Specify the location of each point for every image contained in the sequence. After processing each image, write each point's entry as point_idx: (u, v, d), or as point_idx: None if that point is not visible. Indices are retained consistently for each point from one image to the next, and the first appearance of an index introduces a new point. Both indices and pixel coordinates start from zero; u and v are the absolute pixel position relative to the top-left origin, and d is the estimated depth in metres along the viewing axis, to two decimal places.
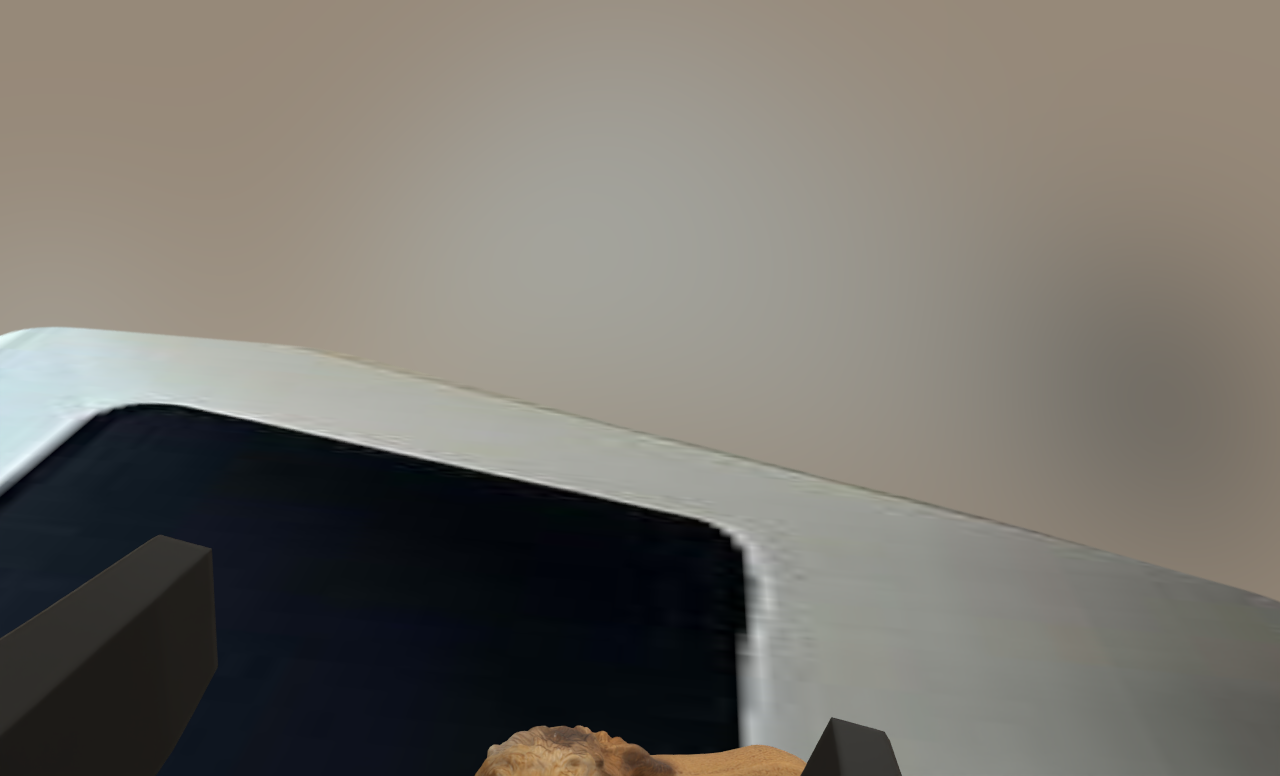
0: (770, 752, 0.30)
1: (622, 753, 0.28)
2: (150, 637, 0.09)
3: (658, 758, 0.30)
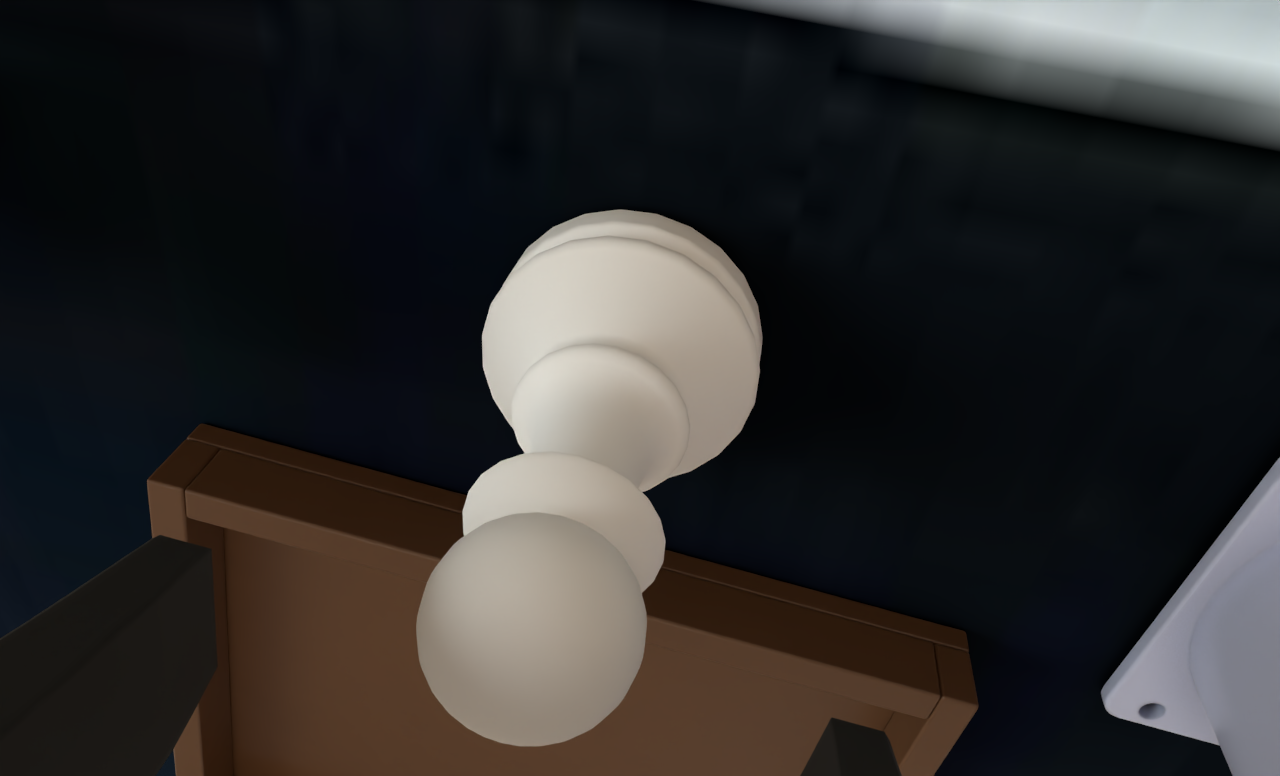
0: None
1: None
2: (150, 637, 0.09)
3: None
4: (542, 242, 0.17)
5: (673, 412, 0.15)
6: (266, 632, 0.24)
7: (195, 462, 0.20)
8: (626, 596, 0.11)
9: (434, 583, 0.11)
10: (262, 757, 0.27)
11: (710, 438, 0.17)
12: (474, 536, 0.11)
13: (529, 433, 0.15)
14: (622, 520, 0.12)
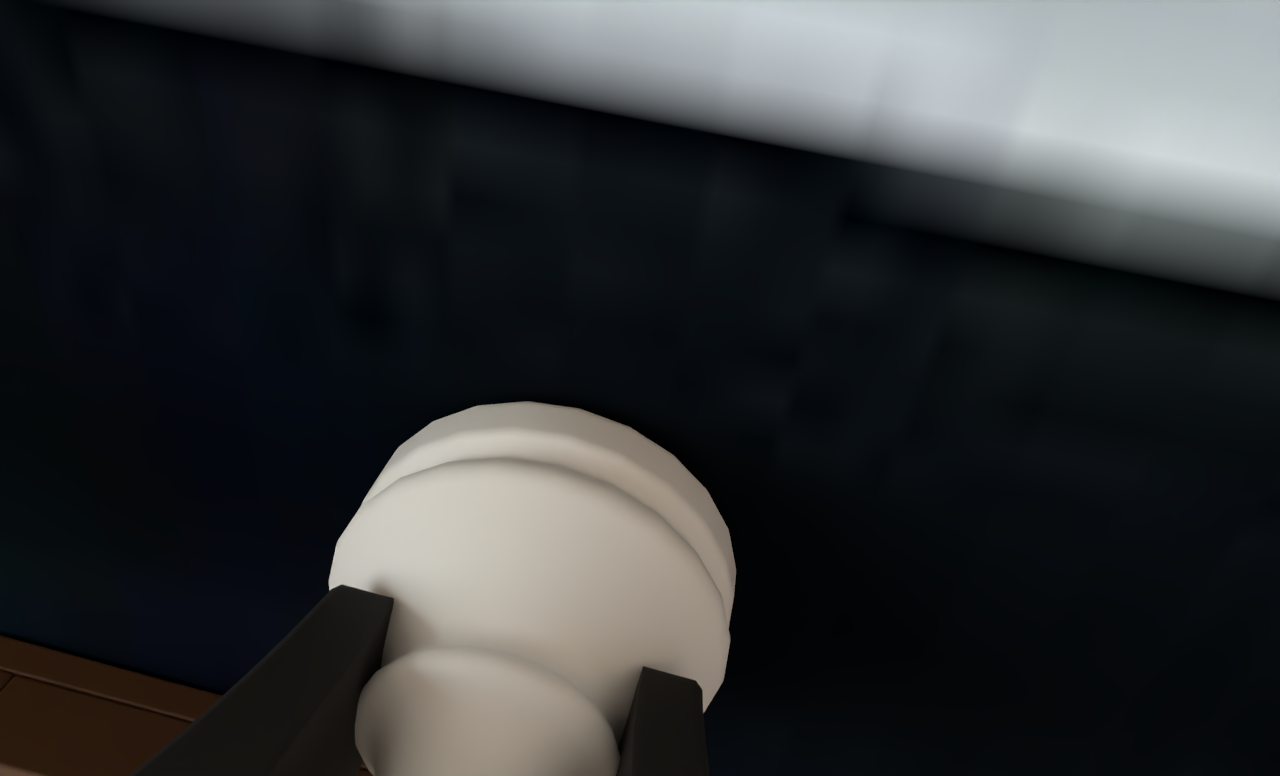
0: None
1: None
2: (349, 691, 0.09)
3: None
4: (412, 451, 0.11)
5: (592, 750, 0.10)
6: None
7: None
8: None
9: None
10: None
11: None
12: None
13: None
14: None
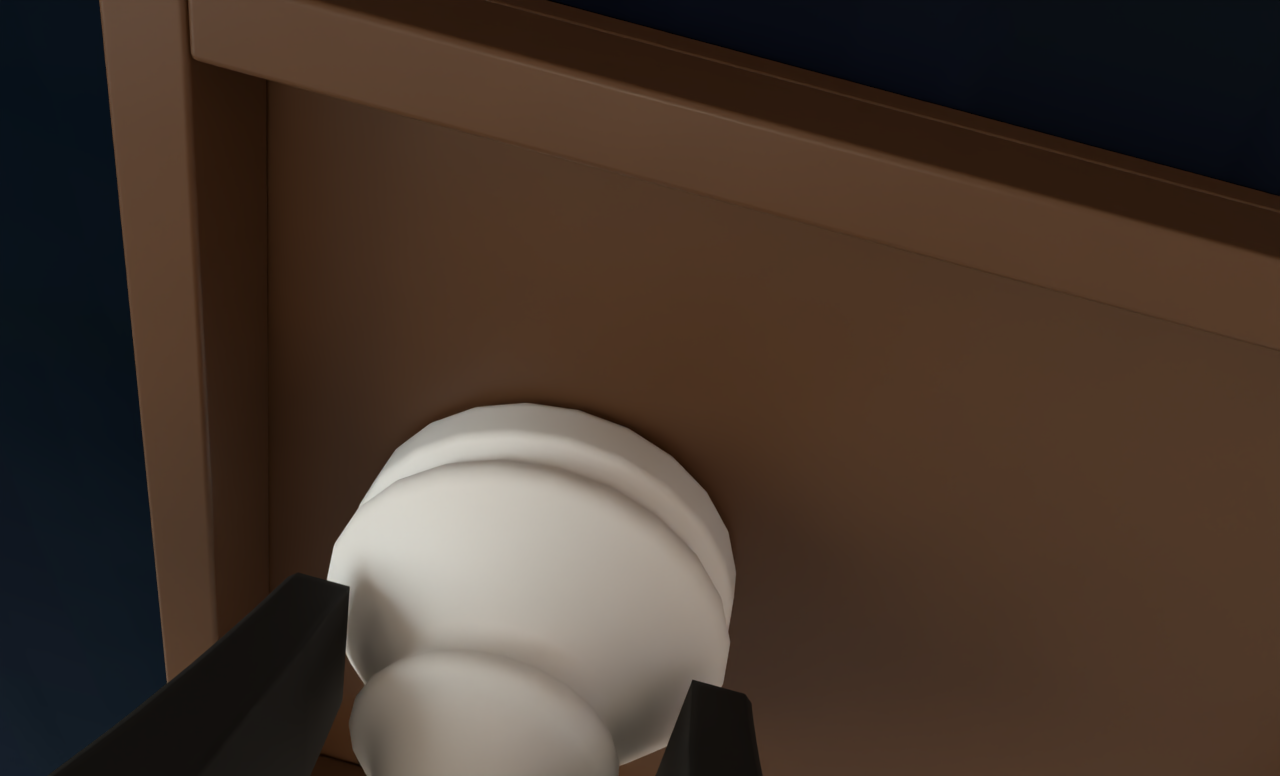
0: None
1: None
2: (301, 678, 0.09)
3: None
4: (410, 453, 0.11)
5: (590, 755, 0.10)
6: (344, 428, 0.12)
7: None
8: None
9: None
10: None
11: (657, 739, 0.11)
12: None
13: None
14: None
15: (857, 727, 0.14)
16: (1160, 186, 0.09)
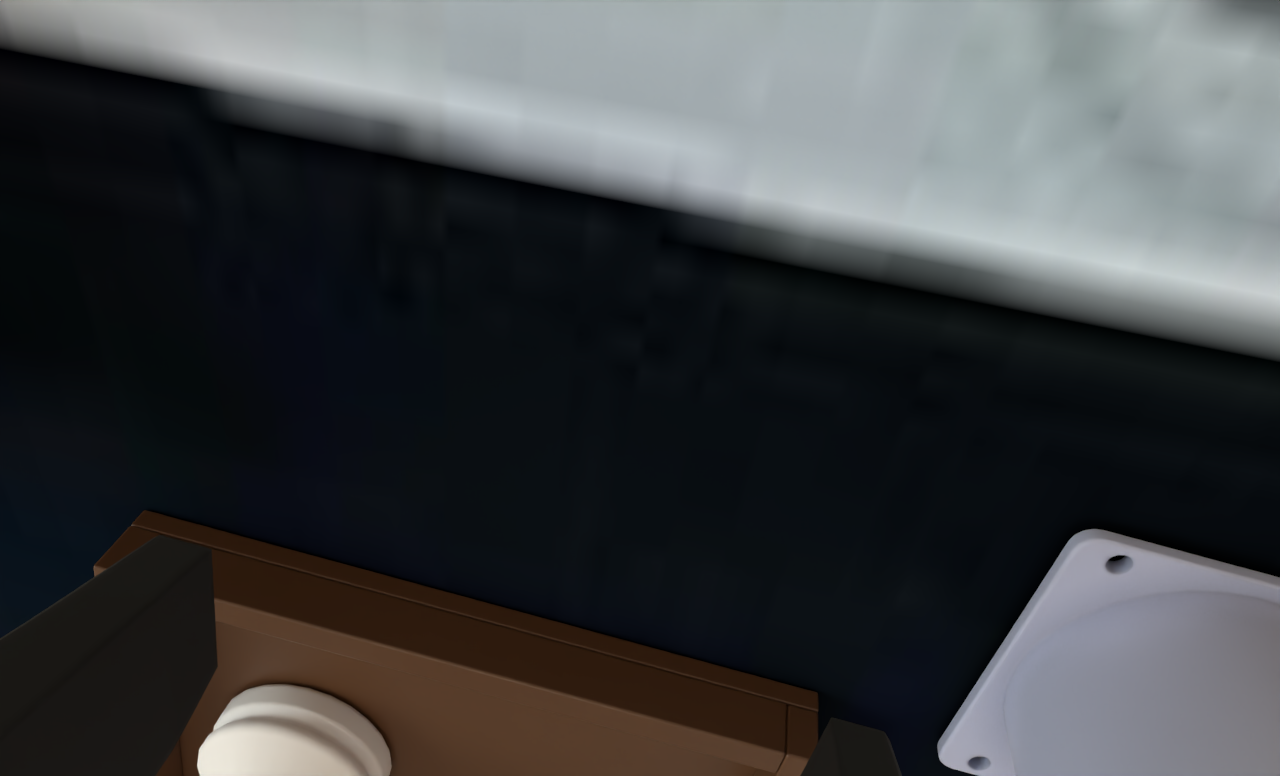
0: None
1: None
2: (150, 637, 0.09)
3: None
4: (233, 708, 0.26)
5: None
6: (208, 688, 0.26)
7: None
8: None
9: None
10: None
11: None
12: None
13: None
14: None
15: None
16: (500, 633, 0.23)
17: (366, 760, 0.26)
